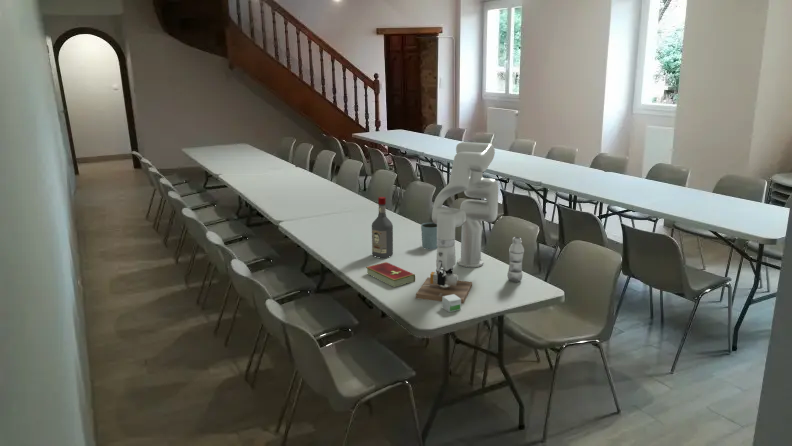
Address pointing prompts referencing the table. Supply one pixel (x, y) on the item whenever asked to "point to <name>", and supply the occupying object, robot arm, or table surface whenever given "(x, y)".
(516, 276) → the plastic bottle
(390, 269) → the hardcover book
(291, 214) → the table surface
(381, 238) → the liquor
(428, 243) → the teal cup
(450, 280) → the white and orange box
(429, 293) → the wooden cutting board
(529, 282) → the table surface
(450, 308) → the small box
